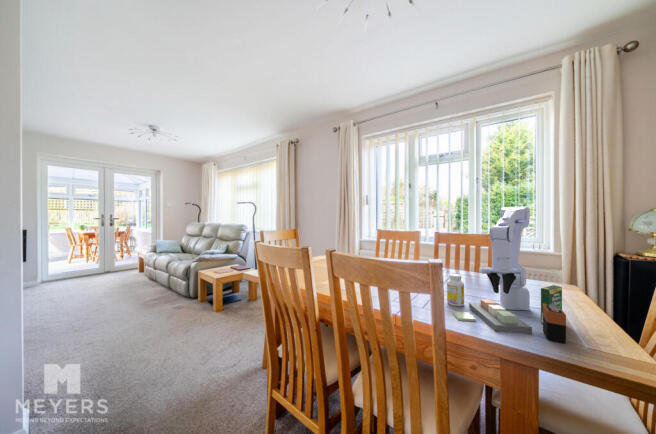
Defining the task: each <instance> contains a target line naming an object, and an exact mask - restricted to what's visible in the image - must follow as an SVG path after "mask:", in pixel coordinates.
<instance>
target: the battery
mask: <svg viewBox="0 0 656 434" xmlns="http://www.w3.org/2000/svg"><path fill="white" fill-rule="evenodd" d="M542 331H543V334H544V337H545V338H546V340H548V341H550V342H555V343H559V344H560V343H561V344H564V345H566V343H567V314H566V313H565V312H564V311H563V308H562V309H561V308H559V307H556V305H553V304H549V306H547V305H543V324H542Z"/></svg>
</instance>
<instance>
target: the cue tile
mask: <svg viewBox="0 0 656 434" xmlns="http://www.w3.org/2000/svg"><path fill="white" fill-rule="evenodd" d="M452 315H453V316H454V317H455V319H457V320H458V321H464V322H465V321H468V322H477V318H475V316H473V315H472V314H471V312H469V311H467V312H465V311H452Z"/></svg>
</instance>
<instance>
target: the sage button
mask: <svg viewBox="0 0 656 434" xmlns="http://www.w3.org/2000/svg"><path fill="white" fill-rule="evenodd" d="M516 317H517V316H516V315H515V314H513V313H512V312H510V311H508V310H507V311H497V319H498V320H499V321H500V322H501V323H503V324H516Z"/></svg>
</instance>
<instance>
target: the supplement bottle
mask: <svg viewBox="0 0 656 434" xmlns="http://www.w3.org/2000/svg"><path fill="white" fill-rule="evenodd" d="M446 302H447V304H449V305H450V306H453V307H463V306H464V305H465V283H464V281H463V280H462V274H458V273H449V279H448V280H447V281H446Z"/></svg>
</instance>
